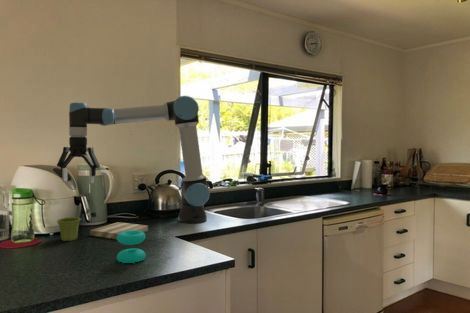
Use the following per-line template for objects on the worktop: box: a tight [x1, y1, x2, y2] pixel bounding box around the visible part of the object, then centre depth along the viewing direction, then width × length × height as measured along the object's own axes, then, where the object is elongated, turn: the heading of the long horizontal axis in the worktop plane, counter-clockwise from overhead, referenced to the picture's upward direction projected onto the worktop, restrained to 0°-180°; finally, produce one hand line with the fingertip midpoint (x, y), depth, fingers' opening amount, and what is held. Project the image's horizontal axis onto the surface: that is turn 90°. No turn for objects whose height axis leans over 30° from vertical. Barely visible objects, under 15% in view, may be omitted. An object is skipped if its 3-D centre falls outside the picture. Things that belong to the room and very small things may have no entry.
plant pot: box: [56, 216, 82, 242], centre depth 164 cm, size 9×9×9 cm
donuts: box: [116, 230, 147, 264], centre depth 136 cm, size 10×10×10 cm
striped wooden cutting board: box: [89, 221, 149, 240], centre depth 176 cm, size 18×18×3 cm
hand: (78, 182), depth 176 cm, fingers open, 13 cm apart
